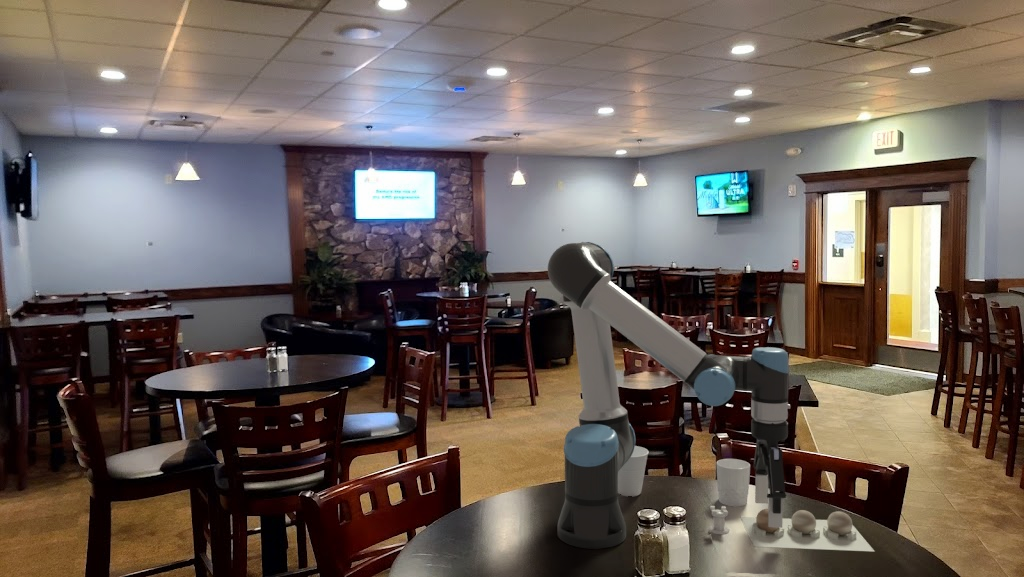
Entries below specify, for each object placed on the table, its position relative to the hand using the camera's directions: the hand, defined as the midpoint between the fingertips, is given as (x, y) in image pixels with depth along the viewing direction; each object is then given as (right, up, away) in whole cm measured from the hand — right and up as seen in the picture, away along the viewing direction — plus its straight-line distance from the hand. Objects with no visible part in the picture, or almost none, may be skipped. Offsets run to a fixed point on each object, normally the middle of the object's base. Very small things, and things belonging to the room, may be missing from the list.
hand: (768, 514), depth 159 cm
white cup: (-2, -3, +19) cm, 19 cm away
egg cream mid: (+7, -4, -1) cm, 8 cm away
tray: (+8, -5, -1) cm, 9 cm away
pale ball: (+15, -4, -2) cm, 15 cm away
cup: (-26, -3, +27) cm, 38 cm away
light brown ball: (0, -4, 0) cm, 4 cm away
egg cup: (-10, -5, +2) cm, 11 cm away
